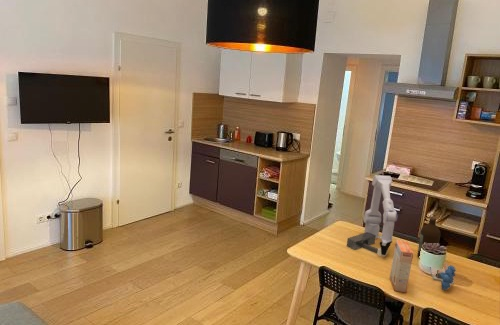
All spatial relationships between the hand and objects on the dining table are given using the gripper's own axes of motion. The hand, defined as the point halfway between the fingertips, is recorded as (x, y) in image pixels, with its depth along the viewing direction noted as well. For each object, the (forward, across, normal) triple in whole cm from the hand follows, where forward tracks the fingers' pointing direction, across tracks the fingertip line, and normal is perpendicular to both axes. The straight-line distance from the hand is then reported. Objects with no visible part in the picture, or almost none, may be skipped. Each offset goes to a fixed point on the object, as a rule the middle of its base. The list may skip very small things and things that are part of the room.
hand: (384, 253), depth 222 cm
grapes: (+2, +19, +33) cm, 38 cm away
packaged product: (+2, +5, +30) cm, 31 cm away
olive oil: (+2, -13, +21) cm, 25 cm away
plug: (+1, -2, -6) cm, 7 cm away
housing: (+1, -6, -15) cm, 16 cm away
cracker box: (+2, +31, +12) cm, 34 cm away
